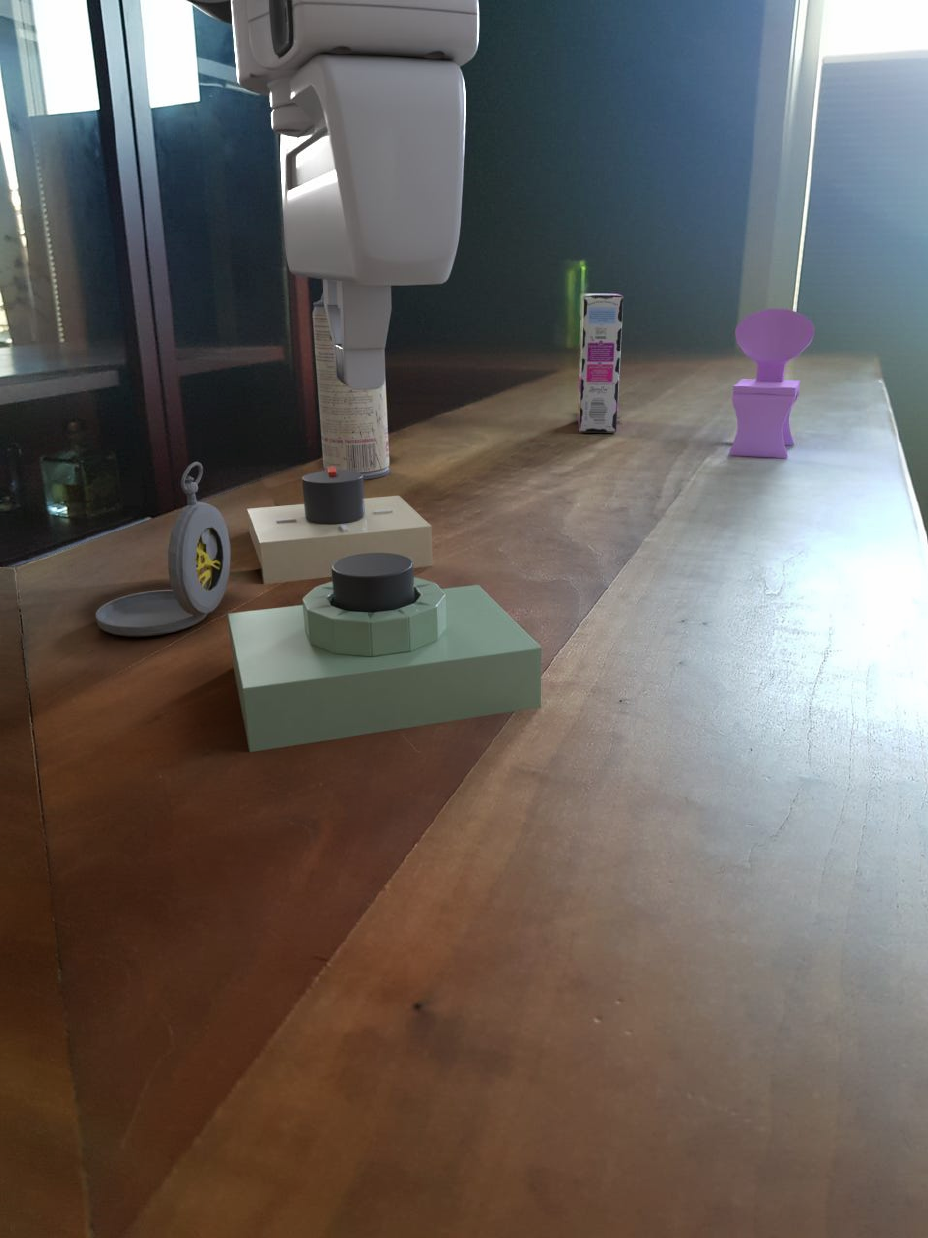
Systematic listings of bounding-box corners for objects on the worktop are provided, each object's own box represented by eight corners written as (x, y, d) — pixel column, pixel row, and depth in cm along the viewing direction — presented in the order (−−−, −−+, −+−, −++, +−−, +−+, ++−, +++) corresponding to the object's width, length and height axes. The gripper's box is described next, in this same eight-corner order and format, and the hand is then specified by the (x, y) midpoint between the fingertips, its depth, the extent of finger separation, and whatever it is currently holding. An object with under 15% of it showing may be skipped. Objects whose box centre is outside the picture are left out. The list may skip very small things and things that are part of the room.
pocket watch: (94, 613, 60) (68, 456, 56) (228, 594, 63) (211, 444, 59) (103, 660, 53) (74, 483, 49) (253, 635, 56) (236, 467, 52)
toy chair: (717, 455, 104) (728, 311, 99) (729, 441, 111) (740, 307, 106) (797, 459, 101) (813, 311, 96) (803, 445, 108) (818, 307, 103)
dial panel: (263, 584, 65) (259, 540, 64) (250, 546, 74) (246, 506, 73) (432, 566, 68) (431, 523, 67) (400, 531, 77) (399, 493, 76)
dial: (367, 522, 68) (364, 476, 67) (305, 525, 67) (302, 480, 66) (363, 507, 72) (360, 464, 71) (304, 510, 71) (301, 467, 70)
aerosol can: (403, 471, 99) (395, 267, 92) (353, 483, 94) (340, 269, 87) (360, 463, 103) (349, 268, 96) (310, 474, 99) (294, 269, 91)
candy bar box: (618, 433, 118) (624, 294, 112) (578, 433, 118) (582, 295, 112) (614, 419, 128) (619, 291, 122) (577, 419, 129) (580, 292, 123)
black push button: (341, 621, 45) (339, 580, 44) (328, 595, 48) (325, 556, 48) (423, 611, 46) (421, 571, 45) (404, 586, 49) (402, 548, 49)
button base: (249, 753, 42) (238, 650, 41) (233, 668, 51) (223, 581, 50) (541, 708, 46) (542, 612, 44) (478, 636, 55) (477, 554, 53)
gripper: (243, 79, 47) (266, 365, 52) (301, -32, 29) (328, 424, 34) (367, 84, 49) (378, 360, 54) (496, -18, 31) (495, 415, 36)
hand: (359, 385), depth 44 cm, fingers closed
